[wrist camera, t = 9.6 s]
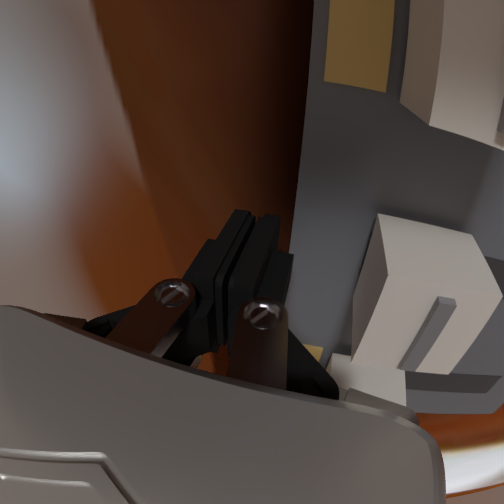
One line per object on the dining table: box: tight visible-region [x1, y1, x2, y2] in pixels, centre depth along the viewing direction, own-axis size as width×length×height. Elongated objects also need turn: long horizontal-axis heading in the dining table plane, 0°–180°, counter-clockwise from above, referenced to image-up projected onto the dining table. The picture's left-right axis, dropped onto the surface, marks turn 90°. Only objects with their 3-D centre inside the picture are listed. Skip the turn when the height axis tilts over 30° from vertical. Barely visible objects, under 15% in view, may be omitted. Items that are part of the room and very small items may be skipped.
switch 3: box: [351, 213, 503, 375], centre depth 10 cm, size 4×4×4 cm
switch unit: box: [284, 0, 504, 414], centre depth 12 cm, size 18×24×3 cm
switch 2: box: [399, 0, 504, 151], centre depth 5 cm, size 4×4×4 cm
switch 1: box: [326, 353, 406, 406], centre depth 15 cm, size 4×4×4 cm
